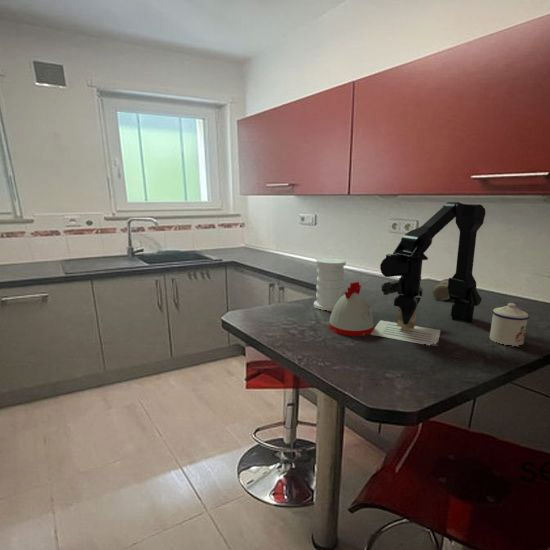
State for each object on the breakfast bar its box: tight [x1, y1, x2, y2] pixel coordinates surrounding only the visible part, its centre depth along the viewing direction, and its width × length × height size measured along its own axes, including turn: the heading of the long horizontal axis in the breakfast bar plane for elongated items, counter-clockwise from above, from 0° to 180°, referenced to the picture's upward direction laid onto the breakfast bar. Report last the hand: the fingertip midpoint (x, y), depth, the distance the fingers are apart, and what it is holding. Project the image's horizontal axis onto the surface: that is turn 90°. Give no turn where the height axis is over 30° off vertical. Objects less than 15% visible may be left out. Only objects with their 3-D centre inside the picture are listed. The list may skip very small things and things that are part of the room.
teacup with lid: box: [489, 302, 530, 347], centre depth 109 cm, size 12×9×12 cm
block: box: [396, 308, 418, 329], centre depth 117 cm, size 5×5×5 cm
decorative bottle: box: [432, 278, 450, 302], centre depth 161 cm, size 26×8×7 cm, turn 147°
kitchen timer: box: [328, 281, 374, 337], centre depth 116 cm, size 14×14×15 cm
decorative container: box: [313, 257, 346, 312], centre depth 139 cm, size 12×12×18 cm
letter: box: [369, 319, 442, 346], centre depth 115 cm, size 19×15×1 cm
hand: (406, 321), depth 117 cm, fingers closed on block, 5 cm apart
